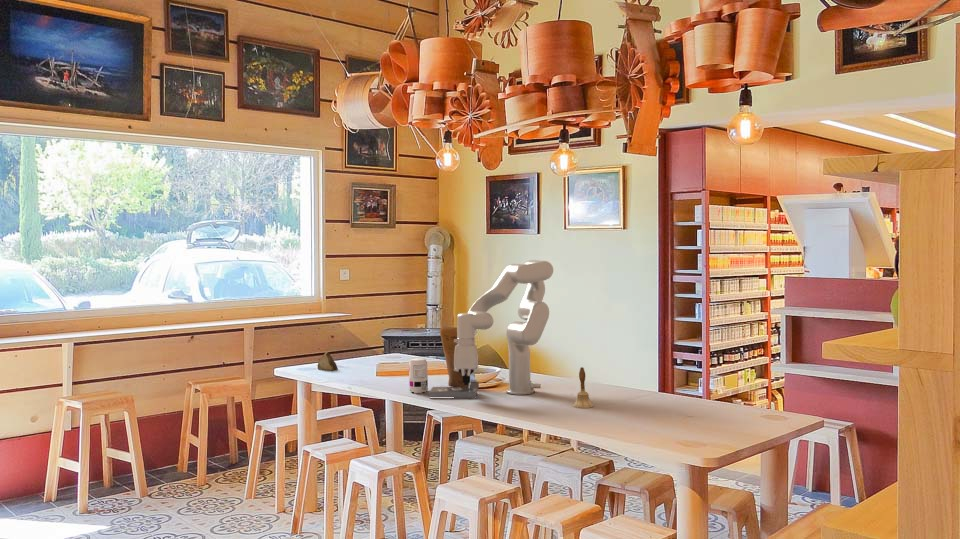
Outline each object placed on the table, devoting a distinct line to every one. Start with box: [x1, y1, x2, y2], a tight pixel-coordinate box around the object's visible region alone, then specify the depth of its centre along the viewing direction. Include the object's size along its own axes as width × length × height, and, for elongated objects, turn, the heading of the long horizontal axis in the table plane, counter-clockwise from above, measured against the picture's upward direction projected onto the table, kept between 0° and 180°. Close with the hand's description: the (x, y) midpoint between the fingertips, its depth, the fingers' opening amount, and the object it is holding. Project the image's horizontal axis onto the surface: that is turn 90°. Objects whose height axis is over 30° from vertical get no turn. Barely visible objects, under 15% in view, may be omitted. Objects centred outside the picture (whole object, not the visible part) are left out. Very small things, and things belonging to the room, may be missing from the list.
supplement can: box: [408, 357, 429, 394], centre depth 353 cm, size 8×8×15 cm
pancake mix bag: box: [439, 326, 469, 387], centre depth 362 cm, size 7×19×28 cm, turn 45°
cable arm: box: [470, 373, 480, 389], centre depth 337 cm, size 20×4×2 cm, turn 6°
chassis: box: [428, 383, 478, 399], centre depth 343 cm, size 20×10×6 cm, turn 85°
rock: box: [316, 351, 339, 371], centre depth 415 cm, size 11×9×10 cm
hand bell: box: [572, 366, 594, 409], centre depth 320 cm, size 8×8×16 cm
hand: (466, 384), depth 334 cm, fingers closed
